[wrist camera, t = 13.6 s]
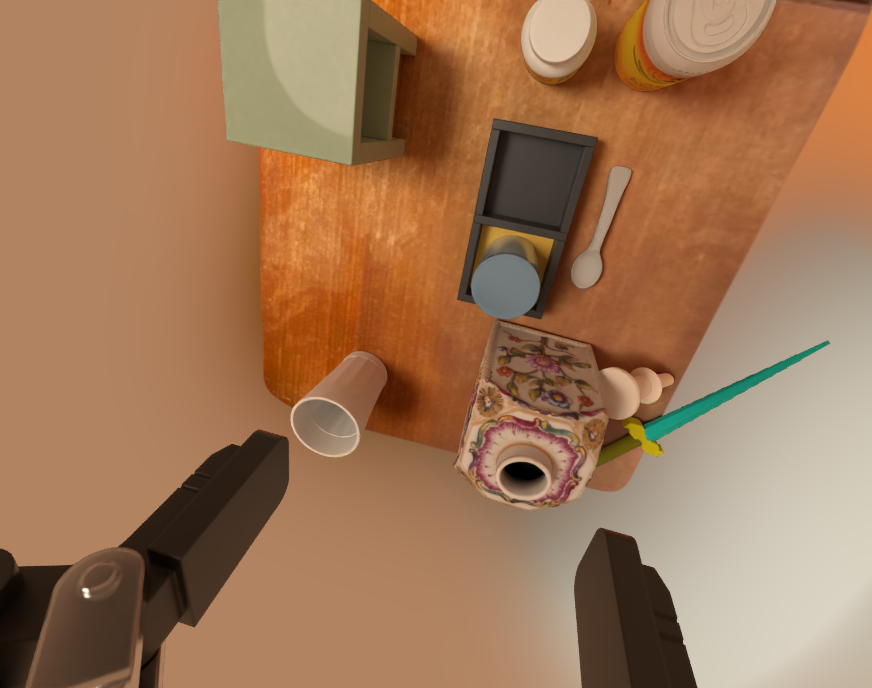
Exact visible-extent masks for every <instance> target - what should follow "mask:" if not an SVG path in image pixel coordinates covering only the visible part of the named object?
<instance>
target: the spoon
mask: <svg viewBox="0 0 872 688" xmlns="http://www.w3.org/2000/svg"><path fill="white" fill-rule="evenodd" d="M630 177H631V170H630V169H629V168H626V167H621V166H614V167H612V168H611V170H610V172H609V177H608V184H607V190H606V196H605V200H604V204H603V208H602V211H601V214H600V218H599V221H598V224H597V227H596V231H595V234H594V236H593V239H592V242H591V244H590V246H589V248H588V249H587V250H586V251H585V252H583V253H582V254H580V255H579V256H578V257H577V258H576V259H575V261H574V263H573V265H572V268H571V280H572V282H573V284H574V285H575V286H576V287H578V288H580V289H586V288H589V287H591V286H592V285H594V284H595V283H596V282H597V280H598V279H599V277H600V275H601V272H602V259H601V256H600V248H601V245H602V243H603V240H604V238H605V235H606V233H607V231H608V228H609V226H610V224H611V221H612V218H613V216H614V213H615V211H616V208H617V205H618V203H619V200H620V198H621V196H622V193H623V191H624V189H625V187H626V185H627V183H628V181H629V179H630Z"/></svg>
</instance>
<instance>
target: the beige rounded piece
mask: <svg viewBox="0 0 872 688" xmlns="http://www.w3.org/2000/svg"><path fill="white" fill-rule="evenodd" d="M599 375H600V378H601V383H602V386H603V391H604V395H605V400H606V404H607V408H608V414H609V418H611V419H616V420H620V419H626V418H628V417H630V416H632V415H633V414H634V413H635V412H636V411H637V409H638V407H639V403H640V402H641V403H644V404H650V403H653V402H655V401H657V400H658V399H659V397H660V396H661V393H662V388H664V387H667V386H670V385H672V384H673V383H674V378H673V377H672V376H671V375H670V374H668V373H663V374H656V373H655V372H654V371H652V370H651V369H648V368H643V367H641V368H636V369H635V370H633V371H632V372H631V373H630V374H629V373H628V372H626V371H625V370H623V369H620V368H617V367H610V368H605V369H603V370H601V371H599Z"/></svg>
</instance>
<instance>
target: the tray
mask: <svg viewBox="0 0 872 688" xmlns="http://www.w3.org/2000/svg"><path fill="white" fill-rule="evenodd" d="M597 139H598V138H597V137H592V136H587V135H581V134H576V133H570V132H565V131H560V130H554V129H549V128H543V127H538V126H532V125H527V124H522V123H516V122H511V121H505V120H500V119H493V124H492V129H491V134H490V139H489V144H488V149H487V154H486V159H485V164H484V169H483V174H482V179H481V184H480V189H479V194H478V199H477V204H476V209H475V215H474V219H473V224H472V229H471V234H470V239H469V244H468V249H467V254H466V259H465V264H464V269H463V273H462V278H461V283H460V288H459V293H458V298H457V300H461V301H465V302H470V303H474V304H476V302H475V301H474V298H473V295H472V291H471V282H472V278H473V275H474V273H475V270H476V269H477V267H478V265H479V262H480V260H481V258H482V255H483V253H484V251H485V249H486V247H487V246H488V245H489V244H490V243H491V242H492V241H493V240H495V239H496V238H498V237H501V236H504V235H517V236H521V237H523V238H525V239H527V240H528V241H529V242H531V243H532V244H533V246H534V247H535V249H536V251H537V253H538V256H539V278H540V292H539V296H538V299H537V301H536V303H535V304H534V306H533V307H532V308H531V309H530V310H529V311H528V312H526V313H525V314H523V315H525V316H529V317H534V318H538V319H542V315H543V312H544V309H545V306H546V303H547V299H548V296H549V293H550V290H551V287H552V283H553V280H554V277H555V274H556V271H557V267H558V264H559V261H560V258H561V255H562V251H563V248H564V245H565V241H566V238H567V235H568V232H569V229H570V226H571V223H572V219H573V216H574V213H575V210H576V206H577V203H578V200H579V197H580V194H581V190H582V187H583V184H584V181H585V178H586V174H587V171H588V168H589V165H590V162H591V158H592V155H593V152H594V149H595V148H594V147H595V146H596V142H597Z"/></svg>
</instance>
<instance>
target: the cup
mask: <svg viewBox="0 0 872 688" xmlns="http://www.w3.org/2000/svg"><path fill="white" fill-rule="evenodd" d="M386 382H387V371H386V368H385V366H384V364H383V363H382V362H381V360H380V359H379V358H377V357H376V356H374V355H373V354H371V353H368V352H363V351H357V352H353V353H351V354H349V355H348V356H347V357H346V358H345V359H344V360H343V361H342V362H341V363H340V364H339V365H338V366H337V367H336V368H335V369H334V370H333V371H332V372H331V373H330V374H329V375H328V376H327V377H326V378H324V379H323V380H322V381H321V382H320V383H319V384H318V385H317V386H316V387H315V388H313V389H312V390H311V391H310V392H309V393H308V394H307V395H306V396H304V397H303V398H302V399H301V400H300V401H299V402H298V403H297V404H296V405H295V406H294V408H293V409H292V412H291V425H292V428H293V431H294V432H295V434H296V436H297V437H298V439H299V440H300V441H301V442H302V443H303V444H304V445H305V446H306V447H308V448H309V449H311V450H312V451H314V452H316V453H318V454H321V455H324V456H329V457H341V456H345V455H348V454H350V453H351V452H352V451H354V450H355V448H356V447H357V446H358V443H359V441H360V439H361V436H362V434H363V432H364V429H365V427H366V425H367V421H368V418H369V416H370V414H371V412H372V410H373V407H374V405H375V403H376V401H377V399H378V396H379V394H380V392H381V391H382V389H383V387H384V386H385V384H386Z"/></svg>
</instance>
